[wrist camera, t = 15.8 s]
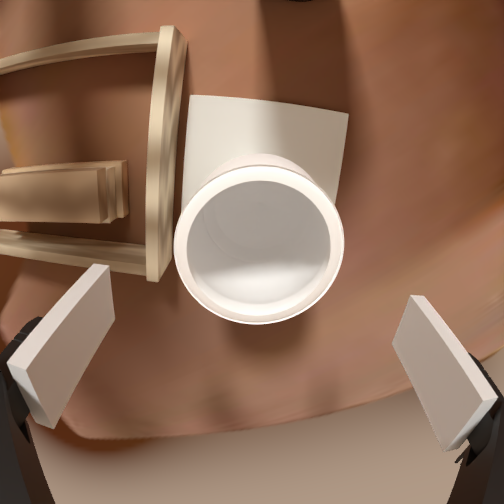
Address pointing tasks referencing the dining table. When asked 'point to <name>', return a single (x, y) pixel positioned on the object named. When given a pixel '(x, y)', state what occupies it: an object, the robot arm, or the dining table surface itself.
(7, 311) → the dining table surface
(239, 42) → the dining table surface
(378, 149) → the dining table surface
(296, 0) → the water bottle
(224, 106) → the mat
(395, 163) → the dining table surface
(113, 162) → the offcut stack
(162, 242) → the rack
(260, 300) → the jar
